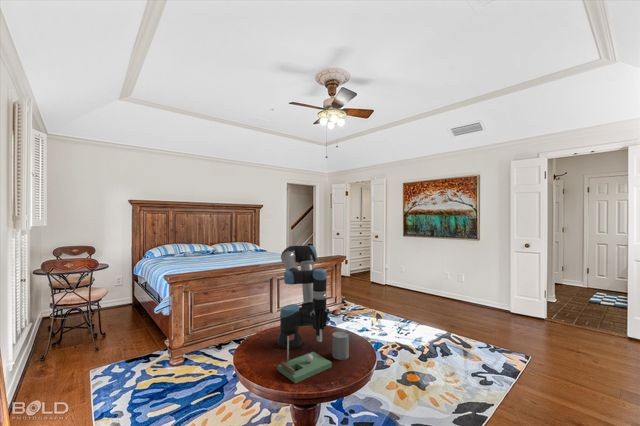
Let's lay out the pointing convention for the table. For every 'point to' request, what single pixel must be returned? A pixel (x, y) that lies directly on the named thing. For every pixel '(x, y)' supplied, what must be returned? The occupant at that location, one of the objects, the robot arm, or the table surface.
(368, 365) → the table surface
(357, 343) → the table surface
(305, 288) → the robot arm
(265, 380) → the table surface
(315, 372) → the green
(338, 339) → the grey can
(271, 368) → the table surface
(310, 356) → the ball
